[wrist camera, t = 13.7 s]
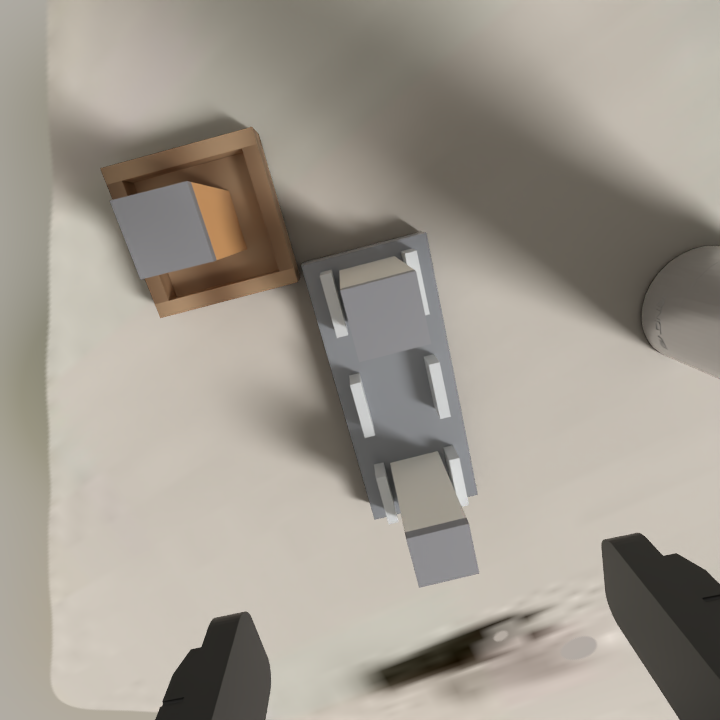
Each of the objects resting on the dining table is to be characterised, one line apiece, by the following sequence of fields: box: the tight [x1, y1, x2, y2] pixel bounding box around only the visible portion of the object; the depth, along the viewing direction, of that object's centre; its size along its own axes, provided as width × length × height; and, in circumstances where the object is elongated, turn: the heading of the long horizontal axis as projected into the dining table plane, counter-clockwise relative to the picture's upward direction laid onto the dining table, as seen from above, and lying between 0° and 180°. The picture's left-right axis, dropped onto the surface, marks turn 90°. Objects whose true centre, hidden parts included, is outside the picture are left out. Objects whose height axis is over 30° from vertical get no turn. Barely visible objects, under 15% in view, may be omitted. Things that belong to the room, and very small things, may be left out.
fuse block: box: [301, 232, 479, 588], centre depth 31 cm, size 9×22×11 cm, turn 14°
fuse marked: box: [110, 181, 247, 280], centre depth 27 cm, size 4×4×9 cm
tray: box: [100, 127, 301, 318], centre depth 31 cm, size 10×10×2 cm
